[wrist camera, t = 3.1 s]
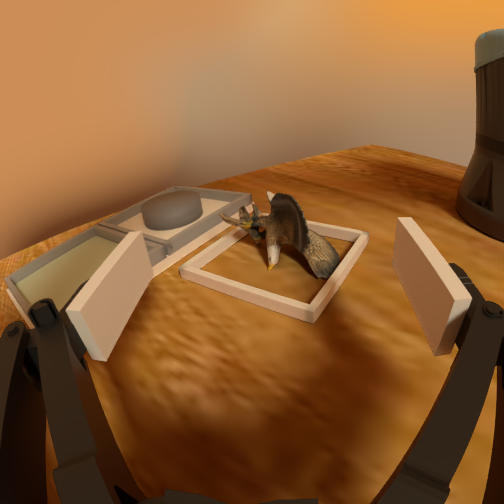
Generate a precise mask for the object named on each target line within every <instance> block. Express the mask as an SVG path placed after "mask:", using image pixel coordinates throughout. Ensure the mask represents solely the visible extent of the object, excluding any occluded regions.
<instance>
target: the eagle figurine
mask: <svg viewBox="0 0 504 504" xmlns="http://www.w3.org/2000/svg"><path fill="white" fill-rule="evenodd" d="M266 193H267V197H268V200H269V202H270V204H271V213H270V214H269V215H268V216H263V217H260V218H259V217H258V216H259V214H260V211H259V210H258V208H257V206H256V205H255V204H253V203H252V207H253V215H252V217H251V218H250V215H249V213H248V211H247V209H246V207H245V206H244V205H243V206H242V207H240V208H239V217H240V219H239V220H238V219H234V218H231V217H228V216H227V215H225V214H224V213H221V212H220V213H219V216H220V217H221V218H222V219H223V220H224V221H225V222H226V223H228V224H231V225H235V226H238V227H241V228H242V229H244V230H245V231H246V232H247V233H249V234H250V236H251V238H252V240H254V242H255V243H256V245H257V246H260V245H261V241H262V240H263V239H265V238H266V245H267V251H268V261H269V266H268V268H267V270H271V269H272V268H273V266H274V265H275V264H277V262H278V260H279V253H280V249H281V246H282V245H285V244H286V245H292V246H294V247H295V248H296V249H297V250H298V251H300V253H301V254H302V255H303V256H304V257H305V258H306V259H307V261H308V263H309V265H310V267H311V268H312V270H313V272H314V274H315V275H316V276H317V277H318V278H320V277H323V278H325V279H328V278H329V277H331V275H332V274H333V273H334V271H335V270H336V269H337V267H338V266H339V263H341V261H340V260H339V258H340V256H339V255H338V253H337V252H336V251H335V249H334V248H333V247H332V245H331V244H330V243H329V242H328V241H327V240H326V239H325V238H324V237H322V236H320V235H319V234H317V233H316V232H314V231H312V230H311V229H309V228H308V226H307V221H306V219H305V218H304V213H303V211H301V207H300V206H299V204H298V203H297V201H296V200H295V199H294V197H293V196H291V195H287V194H282V193H276V195H274V194H273V193H271V192H269V191H267V192H266ZM259 227H263V228H265V229H266V230H264V231H263V232H262V233H260V232H259V231H258V230H259Z"/></svg>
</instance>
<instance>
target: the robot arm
mask: <svg viewBox="0 0 504 504" xmlns="http://www.w3.org/2000/svg"><path fill="white" fill-rule="evenodd" d="M474 72H475V73H476V102H477V109H476V143H475V150H474V154H473V156H472V158H471V160H470V163H469V165H468V168H467V170H466V172H465V175H464V177H463V179H462V182H461V184H460V186H459V189H458V193H457V200H456V210H457V212H458V213H459V215H460V216H461V217H462V218H463V219H464V220H465V221H467V222H468V223H469V224H471V225H472V226H474V227H475V228H477V229H478V230H480V231H482V232H484V233H486V234H488V235H490V236H492V237H495V238H497V239H499V240H502V241H504V29H496V30H491V31H488V32H485V33H483V34H481V35H480V36H479V37H478V38H477V40H476V42H475V68H474ZM392 267H393V268H394V270H395V272H396V274H397V276H398V278H399V280H400V282H401V284H402V286H403V288H404V290H405V292H406V294H407V296H408V299H409V301H410V303H411V305H412V307H413V309H414V311H415V313H416V316H417V318H418V320H419V322H420V324H421V327H422V329H423V331H424V333H425V336H426V338H427V340H428V343H429V345H430V347H431V350H432V352H433V355H434V356H439V355H445V354H450V353H451V351H452V349H453V347H454V344H455V343H456V345H457V347H458V349H459V351H458V353H457V355H456V357H455V359H454V361H453V364H452V366H451V368H450V371H449V374H448V376H447V378H446V380H445V382H444V385H443V387H442V389H441V391H440V393H439V395H438V397H437V399H436V401H435V403H434V405H433V407H432V409H431V411H430V413H429V414H428V416H427V418H426V420H425V422H424V424H423V425H422V427H421V429H420V431H419V432H418V434H417V436H416V438H415V439H414V441H413V443H412V444H411V446H410V448H409V449H408V451H407V452H406V454H405V455H404V457H403V459H402V460H401V462H400V463H399V465H398V466H397V468H396V469H395V471H394V472H393V474H392V475H391V476H390V478H389V479H388V481H387V482H386V484H385V485H384V486H383V488H382V489H381V490H380V492H379V493H378V494H377V496H376V497H375V498H374V499H373V501H372V502H371V503H370V504H444V503H445V501H446V499H447V497H448V495H449V492H450V488H449V484H450V482H451V479H452V477H453V476H454V474H455V472H456V470H457V467H458V465H459V463H460V461H461V459H462V457H463V455H464V453H465V450H466V448H467V446H468V443H469V441H470V439H471V436H472V434H473V431H474V429H475V426H476V424H477V421H478V419H479V416H480V413H481V410H482V407H483V405H484V402H485V399H486V396H487V392H488V389H489V386H490V383H491V379H492V376H493V372H494V369H495V366H497V401H496V418H495V430H494V440H493V448H492V455H491V462H490V468H489V474H488V479H487V484H486V489H485V494H484V498H483V502H482V504H504V310H503V308H502V307H501V306H499V305H498V304H496V303H494V302H491V301H485V299H484V298H483V296H482V295H481V293H480V292H479V291H478V289H477V288H476V286H475V285H474V284H473V283H472V281H471V280H470V278H468V276H467V274H466V273H465V272H464V270H463V269H462V268H460V267H459V266H457V265H456V264H455V263H447V262H446V260H445V259H444V258H443V256H442V255H441V254H440V253H439V251H438V250H437V249H436V247H435V246H434V245H433V244H432V242H431V241H430V240H429V239H428V237H427V236H426V235H425V234H424V232H423V231H422V230H421V229H420V227H419V226H418V225H417V224H416V223H415V221H414V220H413V219H412V218H411V217H399V218H397V226H396V235H395V244H394V251H393V259H392ZM153 276H154V273H153V270H152V266H151V263H150V259H149V256H148V252H147V249H146V245H145V241H144V238H143V234H142V231H135V232H129V233H128V234H127V235H126V236H125V238H124V239H123V240H122V241H121V242H120V243H119V244H118V246H117V247H116V248H115V249H114V250H113V251H112V253H111V254H110V255H109V256H108V257H107V258H106V260H105V261H104V262H103V263H102V264H101V266H100V267H99V268H98V269H97V271H96V272H95V273H94V274H93V275H92V277H91V278H90V279H88V280H86V281H85V282H84V283H82V284H81V285H80V286H79V288H78V289H77V290H76V291H75V293H74V294H73V295H72V296H71V298H70V299H69V300H68V302H67V303H66V304H65V305H64V307H63V308H62V309H61V311H60V312H58V310H57V308H56V306H55V304H54V302H53V300H52V299H50V298H44V299H41V300H39V301H37V302H35V303H34V304H33V305H32V306H31V307H30V308H29V310H28V313H27V314H28V316H29V318H30V319H31V321H32V323H33V325H34V326H35V328H33V329H28V330H27V328H26V327H25V325H24V323H23V322H21V321H16V322H13V323H11V324H10V325H8V326H7V327H6V328H5V329H4V331H3V333H2V336H1V339H0V504H48V502H47V489H46V464H45V440H46V414H47V419H48V424H49V428H50V433H51V437H52V441H53V445H54V449H55V453H56V457H57V461H58V468H55V469H53V478H54V482H55V485H56V488H57V492H58V495H59V498H60V501H61V504H226V503H223V502H220V501H217V500H214V499H211V498H209V497H206V496H203V495H200V494H193V493H186V492H180V491H174V490H169V489H166V490H165V495H164V496H160V497H153V498H149V499H147V498H146V496H145V495H144V494H143V492H142V491H141V490H140V489H139V487H138V486H137V484H136V483H135V481H134V479H133V477H132V475H131V473H130V471H129V469H128V467H127V465H126V463H125V461H124V458H123V456H122V454H121V452H120V450H119V448H118V445H117V443H116V441H115V438H114V436H113V434H112V431H111V429H110V427H109V424H108V422H107V419H106V417H105V414H104V411H103V409H102V406H101V403H100V401H99V398H98V395H97V392H96V390H95V387H94V384H93V381H92V378H91V375H90V371H89V368H88V365H87V362H86V360H85V358H84V357H83V355H84V354H85V352H86V350H87V351H88V353H89V355H90V356H91V358H92V360H99V361H107V359H108V357H109V355H110V353H111V352H112V350H113V348H114V346H115V344H116V342H117V340H118V338H119V336H120V334H121V333H122V331H123V329H124V327H125V325H126V323H127V322H128V320H129V318H130V316H131V314H132V312H133V311H134V309H135V307H136V305H137V303H138V302H139V300H140V298H141V296H142V295H143V293H144V291H145V289H146V288H147V286H148V284H149V282H150V281H151V279H152V277H153ZM23 369H24V371H23ZM260 504H318V498H317V499H295V500H275V501H271V502H265V503H260Z"/></svg>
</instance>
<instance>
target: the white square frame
mask: <svg viewBox="0 0 504 504" xmlns="http://www.w3.org/2000/svg"><path fill="white" fill-rule="evenodd" d="M268 215H269V214H267V213H261V212H260V214H259V216H258V217H259V218H260V217H263V216H268ZM306 221H307V220H306ZM307 226H308V228H309V229H311V230H312V231H314V232H316V233H317V234H319V235H322V236H327V237H332V238H337V239H342V240H347V241H351V242H355V243H354V245H353V246H352V248H351V249H350V251H349V252H348V253H347V255H346V256H345V258H344V259H343V260H342V262H341V263H340V264H339V266H338V267H337V269H336V270H335V271H334V273H333V274H332V275H331V277H330V278H329V279H328V281H327V282H326V283H325V285H324V286H323V287H322V289H321V290H320V291H319V293H318V294H317V295H316V297H315V298H314V299H313V301H312V302H311V303H310V304H306V303H303V302H300V301H296V300H293V299H290V298H287V297H284V296H280V295H277V294H274V293H271V292H268V291H264V290H261V289H258V288H255V287H252V286H249V285H246V284H243V283H239V282H236V281H233V280H230V279H227V278H224V277H221V276H218V275H215V274H212V273H209V272H206V271H203V270H200V268H202V267H203V266H205V265H206V264H207V263H209V262H210V261H211V260H213V259H214V258H215V257H217V256H218V255H219V254H221V253H222V252H223V251H225V250H226V249H228V248H229V247H230V246H232V245H233V244H234V243H236V242H237V241H238V240H240V239H241V238H243V237H244V236H245V235H247V234H248V233H247V232H246V231H245V230H244V229H242V228H241V227H237V228H235V229H234V230H232V231H231V232H229V233H228V234H226V235H225V236H223V237H222V238H220V239H219V240H217V241H216V242H215V243H213V244H212V245H210V246H209V247H207V248H206V249H204V250H203V251H201V252H200V253H199V254H197V255H196V256H194V257H193V258H191V259H190V260H189V261H187V262H186V263H184V264H183V265H181V266H180V267H179V271H180V274H181V277H182V278H184V279H187V280H190V281H192V282H195V283H198V284H200V285H203V286H206V287H208V288H211V289H214V290H217V291H219V292H222V293H225V294H227V295H230V296H233V297H236V298H239V299H241V300H244V301H247V302H250V303H253V304H256V305H258V306H261V307H264V308H267V309H270V310H273V311H276V312H279V313H282V314H285V315H288V316H291V317H294V318H297V319H300V320H303V321H306V322H309V323H312V324H314V323H315V321H316V320H317V319H318V317H319V316H320V314H321V313H322V311H323V310H324V309H325V307H326V306H327V304H328V303H329V301H330V300H331V298H332V297H333V296H334V294H335V293H336V291H337V290H338V288H339V287H340V285H341V284H342V282H343V281H344V279H345V278H346V276H347V275H348V273H349V272H350V270H351V268H352V267H353V265H354V264H355V262H356V261H357V259H358V258H359V256H360V254H361V253H362V251H363V250H364V248H365V247H366V245H367V243H368V240H369V232H365V231H360V230H355V229H350V228H344V227H339V226H334V225H329V224H323V223H318V222H313V221H307Z"/></svg>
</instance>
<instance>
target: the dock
mask: <svg viewBox="0 0 504 504" xmlns="http://www.w3.org/2000/svg"><path fill="white" fill-rule="evenodd" d="M252 203H253V204H254V202H252V196H251V193H243V192H235V191H226V190H217V189H208V188H199V187H189V186H178V185H174V186H172V187H170V188H168V189H166V190H164V191H162V192H159V193H157V194H155V195H153V196H151V197H149V198H147V199H145V200H143V201H141V202H139V203H137V204H135V205H132V206H130V207H129V208H126V209H124V210H123V211H121V212H119V213H117V214H115V215H113V216H111V217H109V218H107V219H105V220H103V221H101V222H99V223H98V225H94V226H92V227H90V228H88V229H86V230H84V231H83V232H81V233H79V234H77V235H75V236H74V237H72V238H70V239H68V240H67V241H65V242H63V243H61V244H60V245H58V246H56V247H54V248H53V249H51V250H49V251H48V252H46V253H44V254H42V255H41V256H39V257H37V258H36V259H34V260H33V261H31V262H29V263H28V264H26V265H24V266H23V267H21V268H20V269H18V270H16V271H15V272H13V273H12V274H10V275H9V276H7V277H6V278H4V280H5V282H6V284H7V286H8V289H6V291H7V293H8V295H9V297H10V298H11V300H12V302H13V303H14V305H15V306H16V308H17V310H18V311H19V313H20V314H21V316H22V317H23V319H24V320H25V322H26V323H27V325H28V326H29V328H30V329H33V328H35V326H34V325H33V323H32V321H31V319H30V318H29V316H28V314H27V313H28V310H29V308H30V307H31V306H32V305H33V304H34V303H35V302H37V301H39V300H41V299H44V298H50V299H52V300H53V302H54V304H55V306H56V308H57V310H58V312H60V311H61V309H62V308H63V307H64V305H65V304H66V303H67V302H68V300H69V299H70V298H71V296H72V295H73V294H74V293H75V291H76V290H77V289H78V288H79V286H80V285H81V284H82V283H84V282H85V281H86V280H88V279H90V278H91V277H92V275H93V274H94V273H95V272H96V271H97V269H98V268H99V267H100V266H101V264H102V263H103V262H104V261H105V260H106V258H107V257H108V256H109V255H110V254H111V253H112V251H113V250H114V249H115V248H116V247H117V246H118V244H119V243H120V242H121V241H122V240H123V239H124V238H125V236H126V235H127V234H128V233H129V232H135V231H142V234H143V238H144V241H145V245H146V249H147V252H148V256H149V259H150V263H151V266H152V270H153V273H154V276H153V277H152V279H153V278H154V277H156V276H157V275H158V274H160V273H161V272H163V271H164V270H166V269H167V268H169V267H170V266H172V265H173V264H174V263H176V262H177V261H179V260H180V259H182V258H183V257H185V256H186V255H188V254H189V253H191V252H192V251H194V250H195V249H197V248H198V247H200V246H201V245H202V244H204V243H205V242H207V241H208V240H210V239H211V238H213V237H214V236H216V235H217V234H219V233H220V232H222V231H223V230H225V229H226V228H228V227H230V226H231V224H228V223H226V222H225V221H224V220H223V219H222V218H221V217H220V216H219V213H220V212H221V213H224V214H225V215H227V216H228V217H231V218H234V219H238V220H239V219H240V217H239V208H240V207H242V206H243V205H244V206H245V207H246V209H247V211H248V213H251V212H252V211H253V207H252Z"/></svg>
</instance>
